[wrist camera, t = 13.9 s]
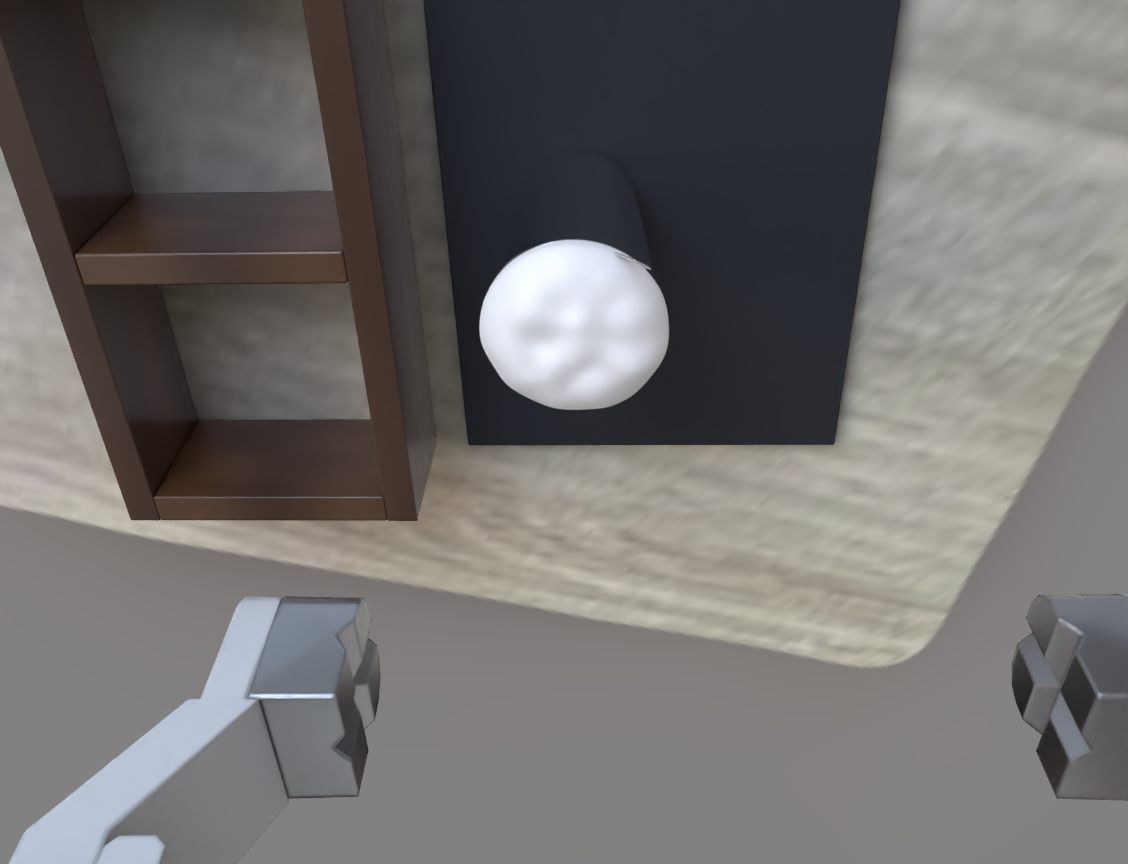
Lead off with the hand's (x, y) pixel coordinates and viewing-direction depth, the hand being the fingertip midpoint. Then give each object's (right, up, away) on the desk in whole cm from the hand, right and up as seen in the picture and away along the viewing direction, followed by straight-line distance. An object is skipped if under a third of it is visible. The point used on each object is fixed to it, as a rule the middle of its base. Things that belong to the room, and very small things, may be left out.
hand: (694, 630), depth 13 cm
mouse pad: (+1, +10, +19) cm, 21 cm away
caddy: (-11, +10, +20) cm, 24 cm away
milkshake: (-1, +10, +19) cm, 21 cm away
